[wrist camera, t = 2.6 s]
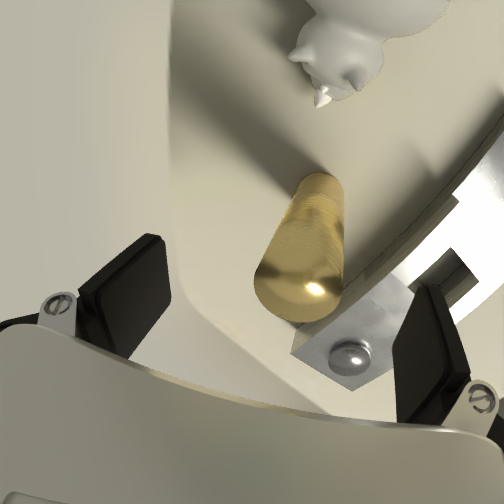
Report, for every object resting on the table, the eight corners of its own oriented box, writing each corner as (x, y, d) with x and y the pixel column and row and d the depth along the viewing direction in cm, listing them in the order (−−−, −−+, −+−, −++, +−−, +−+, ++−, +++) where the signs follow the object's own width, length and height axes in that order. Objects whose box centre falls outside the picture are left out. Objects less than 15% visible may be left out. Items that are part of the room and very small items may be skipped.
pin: (299, 169, 18) (256, 240, 9) (347, 177, 17) (351, 258, 9) (294, 213, 19) (251, 312, 11) (339, 221, 18) (331, 329, 10)
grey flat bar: (509, 105, 11) (537, 109, 8) (555, 181, 11) (580, 197, 8) (296, 329, 24) (288, 359, 21) (353, 367, 24) (351, 396, 22)
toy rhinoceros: (282, 61, 17) (219, 100, 12) (333, -83, 7) (287, -133, 2) (379, 107, 16) (367, 171, 11) (451, -33, 6) (492, -57, 2)
